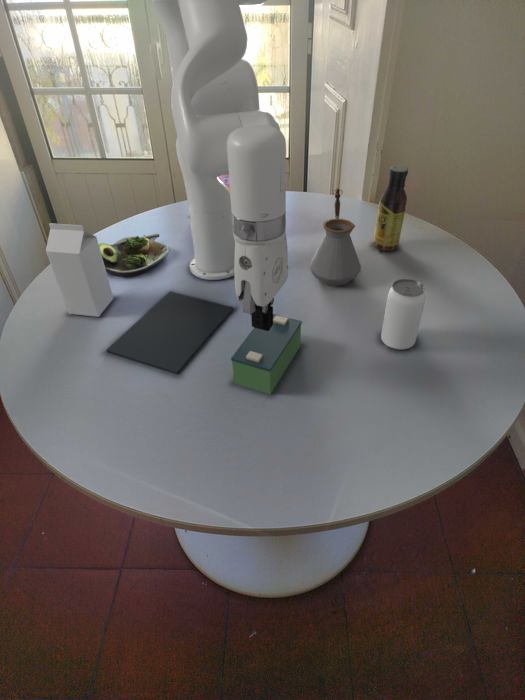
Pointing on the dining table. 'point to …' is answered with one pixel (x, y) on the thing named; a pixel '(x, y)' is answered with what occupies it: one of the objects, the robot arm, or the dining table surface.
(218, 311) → the placemat
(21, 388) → the dining table surface
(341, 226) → the coffee pot
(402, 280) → the can
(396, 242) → the sauce bottle
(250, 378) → the box
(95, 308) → the milk carton
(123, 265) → the salad plate
